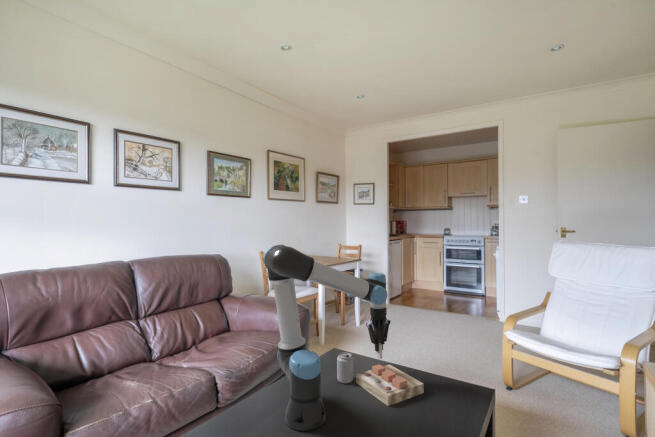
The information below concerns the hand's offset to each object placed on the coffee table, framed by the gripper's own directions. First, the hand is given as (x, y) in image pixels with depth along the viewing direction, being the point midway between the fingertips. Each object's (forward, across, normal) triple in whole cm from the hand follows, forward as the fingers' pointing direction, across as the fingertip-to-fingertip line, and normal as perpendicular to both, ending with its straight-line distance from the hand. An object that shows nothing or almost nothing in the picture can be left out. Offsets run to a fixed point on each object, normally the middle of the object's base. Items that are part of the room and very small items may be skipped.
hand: (379, 357), depth 150 cm
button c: (+8, 0, 0) cm, 8 cm away
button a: (+8, 0, -14) cm, 16 cm away
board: (+11, 0, -7) cm, 13 cm away
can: (+11, -13, +9) cm, 19 cm away
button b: (+8, 0, -7) cm, 11 cm away
